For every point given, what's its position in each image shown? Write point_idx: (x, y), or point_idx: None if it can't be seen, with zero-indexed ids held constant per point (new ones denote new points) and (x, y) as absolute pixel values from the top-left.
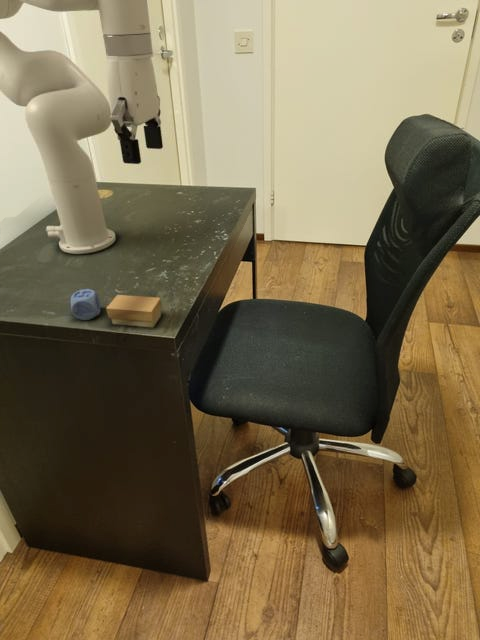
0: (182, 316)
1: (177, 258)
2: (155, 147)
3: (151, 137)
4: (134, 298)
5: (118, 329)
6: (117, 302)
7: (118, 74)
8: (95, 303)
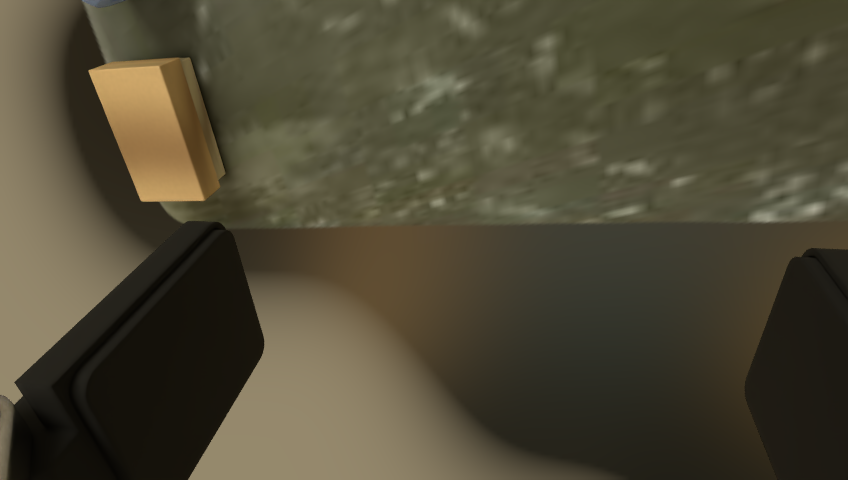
0: (244, 223)
1: (571, 89)
2: (762, 351)
3: (821, 419)
4: (167, 131)
5: None
6: (126, 90)
7: None
8: (106, 3)
